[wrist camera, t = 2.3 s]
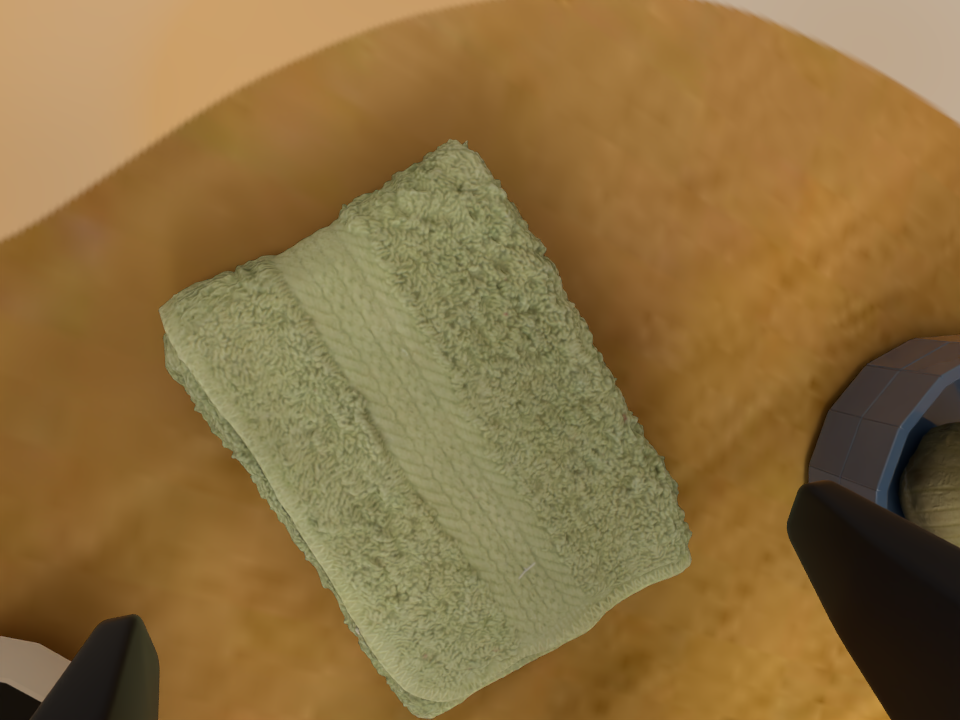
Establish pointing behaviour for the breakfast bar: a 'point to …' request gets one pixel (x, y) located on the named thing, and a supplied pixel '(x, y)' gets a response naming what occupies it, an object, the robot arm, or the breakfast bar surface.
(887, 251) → the breakfast bar surface
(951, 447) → the fennel bulb
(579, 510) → the washcloth
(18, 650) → the supplement can
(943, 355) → the bowl
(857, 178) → the breakfast bar surface
